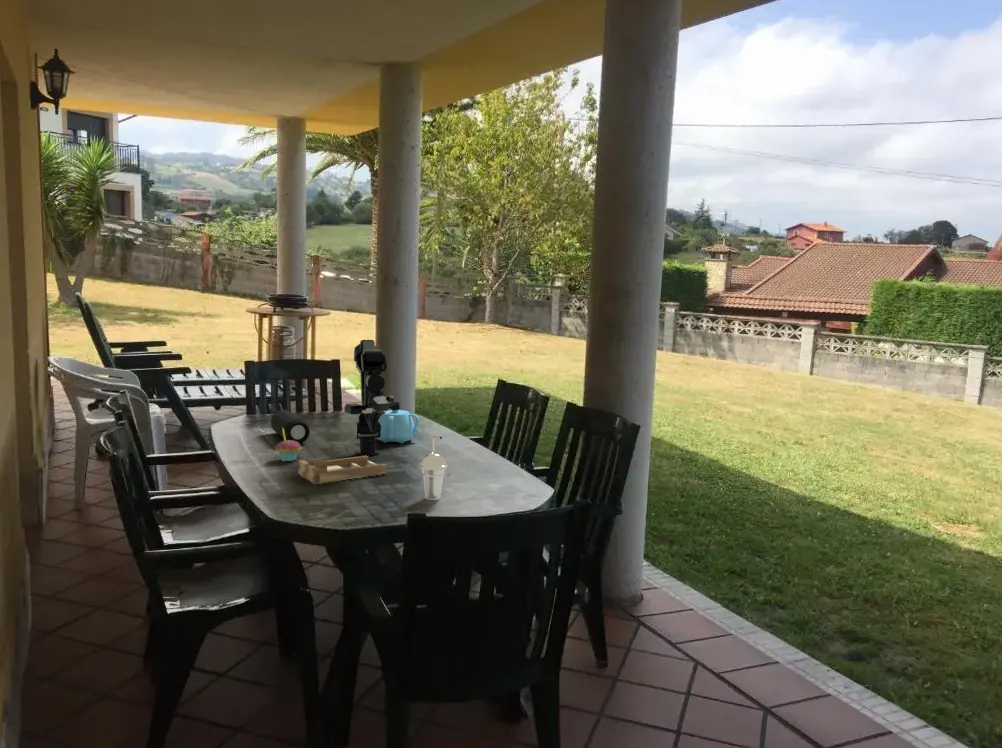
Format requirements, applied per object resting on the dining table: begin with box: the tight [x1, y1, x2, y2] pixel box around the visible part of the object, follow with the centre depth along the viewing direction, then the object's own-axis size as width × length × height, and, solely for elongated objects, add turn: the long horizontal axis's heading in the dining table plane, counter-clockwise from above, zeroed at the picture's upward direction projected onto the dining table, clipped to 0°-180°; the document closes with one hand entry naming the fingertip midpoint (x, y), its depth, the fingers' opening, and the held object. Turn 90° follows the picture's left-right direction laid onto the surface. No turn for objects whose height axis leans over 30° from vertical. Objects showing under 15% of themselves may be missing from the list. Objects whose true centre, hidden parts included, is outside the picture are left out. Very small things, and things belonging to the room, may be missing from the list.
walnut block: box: [307, 457, 328, 473], centre depth 258 cm, size 4×4×4 cm
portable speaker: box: [270, 409, 311, 444], centre depth 313 cm, size 26×10×10 cm, turn 30°
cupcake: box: [275, 427, 302, 462], centre depth 280 cm, size 9×8×12 cm
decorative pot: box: [376, 409, 421, 445], centre depth 315 cm, size 16×16×14 cm
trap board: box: [297, 455, 387, 483], centre depth 264 cm, size 14×25×5 cm, turn 126°
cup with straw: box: [418, 435, 448, 501], centre depth 239 cm, size 8×9×20 cm
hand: (372, 431), depth 275 cm, fingers closed
